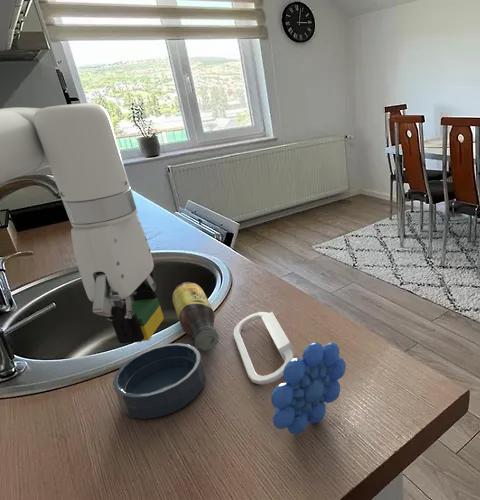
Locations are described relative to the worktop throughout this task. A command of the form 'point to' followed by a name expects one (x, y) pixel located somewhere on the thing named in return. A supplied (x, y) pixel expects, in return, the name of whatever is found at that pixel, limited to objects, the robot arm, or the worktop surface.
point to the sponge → (147, 315)
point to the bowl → (159, 380)
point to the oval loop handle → (279, 340)
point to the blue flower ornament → (308, 387)
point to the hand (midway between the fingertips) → (141, 327)
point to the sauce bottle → (195, 315)
